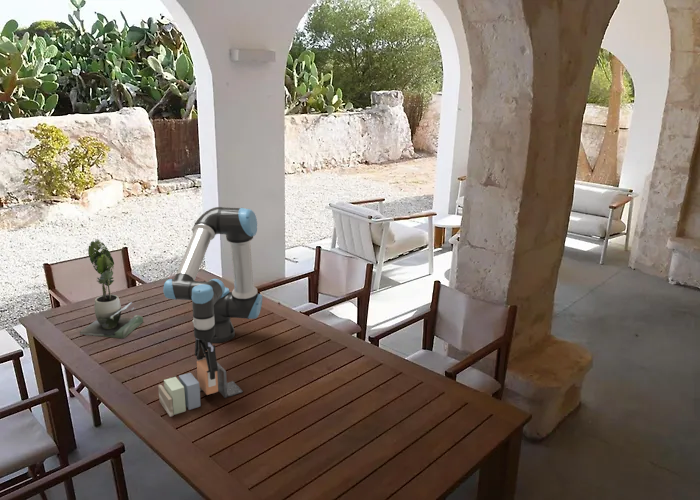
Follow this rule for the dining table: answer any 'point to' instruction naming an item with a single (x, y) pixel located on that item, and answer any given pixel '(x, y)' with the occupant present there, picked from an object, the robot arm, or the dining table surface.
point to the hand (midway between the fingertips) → (206, 380)
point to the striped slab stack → (166, 400)
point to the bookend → (225, 387)
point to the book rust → (205, 377)
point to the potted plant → (108, 300)
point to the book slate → (190, 390)
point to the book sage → (176, 394)
